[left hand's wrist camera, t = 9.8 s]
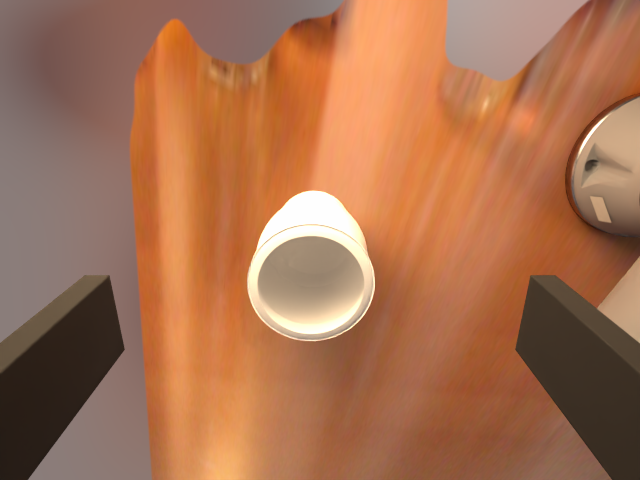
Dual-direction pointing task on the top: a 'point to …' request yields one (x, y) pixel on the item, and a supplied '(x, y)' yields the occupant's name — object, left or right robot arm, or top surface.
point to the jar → (311, 270)
